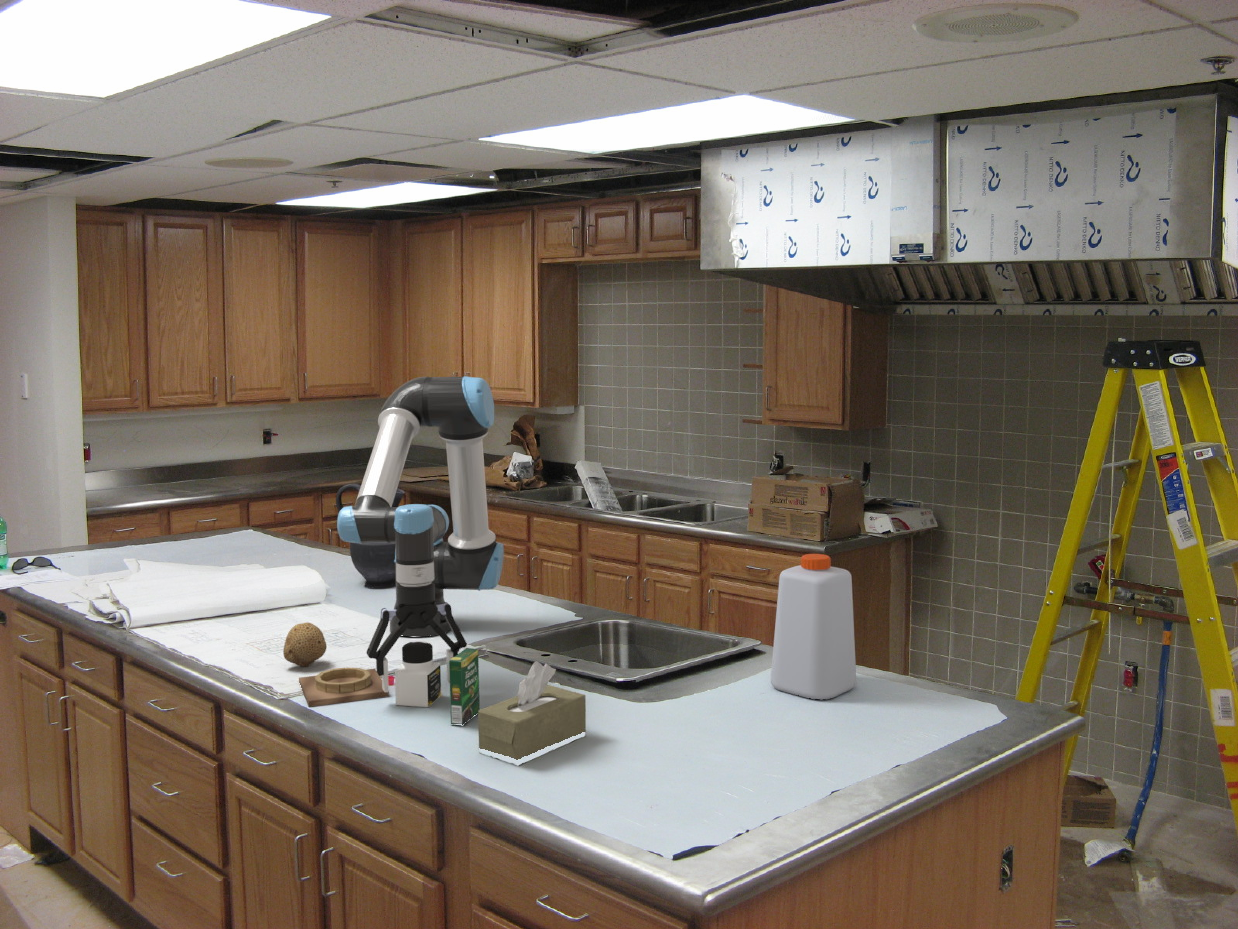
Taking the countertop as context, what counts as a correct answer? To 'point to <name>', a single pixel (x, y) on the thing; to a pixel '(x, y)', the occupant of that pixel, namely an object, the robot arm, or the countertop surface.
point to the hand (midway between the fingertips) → (418, 686)
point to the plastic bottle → (814, 630)
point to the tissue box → (532, 717)
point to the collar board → (342, 686)
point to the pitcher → (373, 552)
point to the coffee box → (464, 686)
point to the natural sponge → (304, 644)
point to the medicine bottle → (417, 676)
